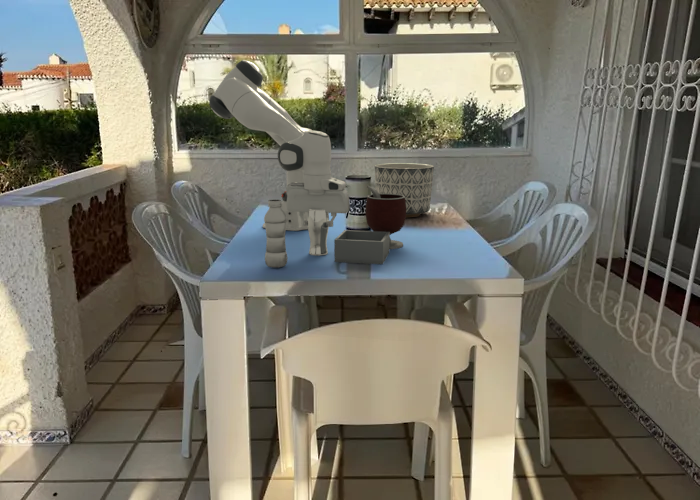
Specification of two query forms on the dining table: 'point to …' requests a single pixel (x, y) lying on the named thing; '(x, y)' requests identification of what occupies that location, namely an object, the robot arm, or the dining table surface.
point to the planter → (407, 184)
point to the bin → (362, 247)
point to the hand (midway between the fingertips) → (318, 226)
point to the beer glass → (318, 231)
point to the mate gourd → (386, 214)
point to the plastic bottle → (275, 235)
